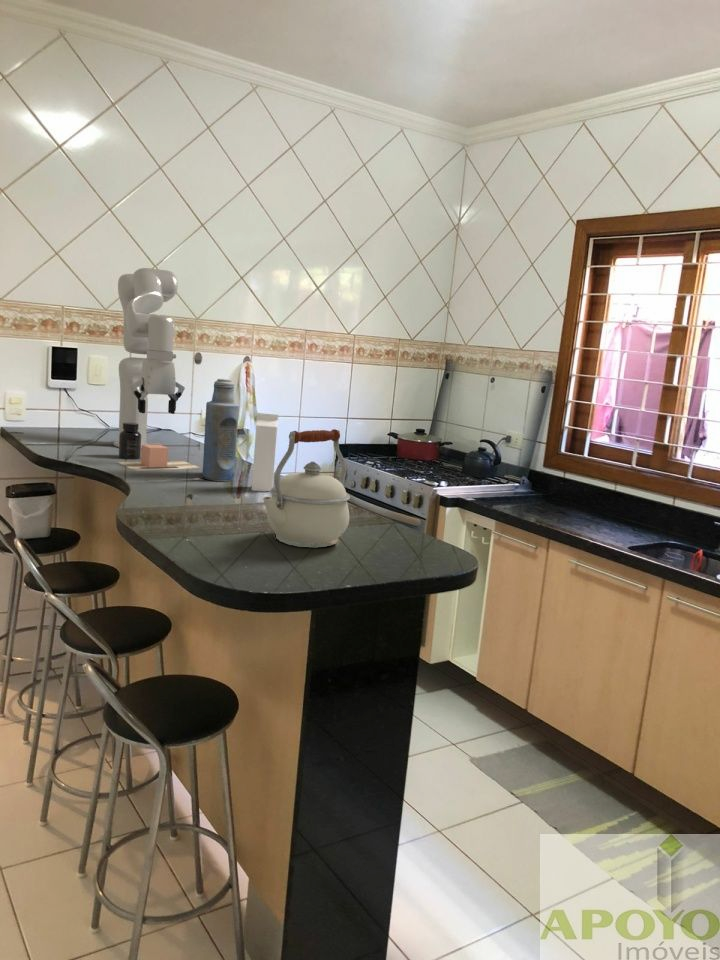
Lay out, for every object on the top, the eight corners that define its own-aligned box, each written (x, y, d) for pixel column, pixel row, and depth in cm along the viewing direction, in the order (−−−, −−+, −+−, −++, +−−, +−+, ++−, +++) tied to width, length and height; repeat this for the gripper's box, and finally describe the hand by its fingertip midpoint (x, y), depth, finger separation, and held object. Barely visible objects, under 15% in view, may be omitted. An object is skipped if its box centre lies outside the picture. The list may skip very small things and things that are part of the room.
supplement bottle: (143, 459, 251) (145, 423, 249) (135, 462, 244) (137, 425, 242) (123, 457, 252) (125, 421, 250) (114, 460, 245) (116, 423, 243)
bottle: (211, 482, 226) (218, 380, 220) (196, 475, 233) (202, 376, 228) (240, 481, 232) (247, 381, 226) (223, 474, 239) (230, 378, 234)
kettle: (309, 525, 186) (318, 423, 181) (368, 543, 175) (379, 434, 170) (231, 539, 167) (238, 425, 162) (291, 560, 155) (301, 438, 151)
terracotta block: (140, 463, 239) (141, 444, 238) (158, 463, 243) (159, 444, 242) (149, 467, 235) (149, 448, 234) (167, 466, 238) (168, 447, 237)
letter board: (116, 464, 238) (117, 461, 238) (181, 462, 252) (181, 460, 252) (135, 473, 228) (135, 470, 228) (202, 470, 242) (202, 468, 242)
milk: (272, 492, 220) (278, 416, 216) (251, 490, 220) (256, 414, 216) (272, 488, 226) (278, 413, 222) (252, 486, 226) (257, 411, 221)
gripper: (179, 358, 241) (177, 412, 244) (127, 354, 230) (124, 411, 233) (191, 359, 235) (188, 415, 238) (137, 355, 224) (134, 414, 227)
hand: (156, 413), depth 236 cm, fingers open, 9 cm apart
